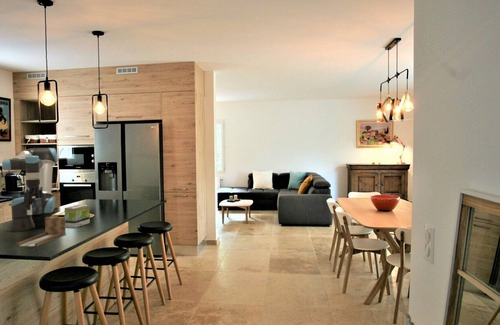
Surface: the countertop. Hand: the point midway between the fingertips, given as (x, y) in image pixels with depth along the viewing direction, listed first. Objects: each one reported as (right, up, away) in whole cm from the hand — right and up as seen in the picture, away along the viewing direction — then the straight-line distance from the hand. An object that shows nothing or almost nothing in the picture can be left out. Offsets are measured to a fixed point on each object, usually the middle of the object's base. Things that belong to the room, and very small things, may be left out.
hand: (34, 213), depth 212 cm
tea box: (+12, -14, +32) cm, 37 cm away
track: (+10, -16, -7) cm, 20 cm away
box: (0, -1, 0) cm, 1 cm away
